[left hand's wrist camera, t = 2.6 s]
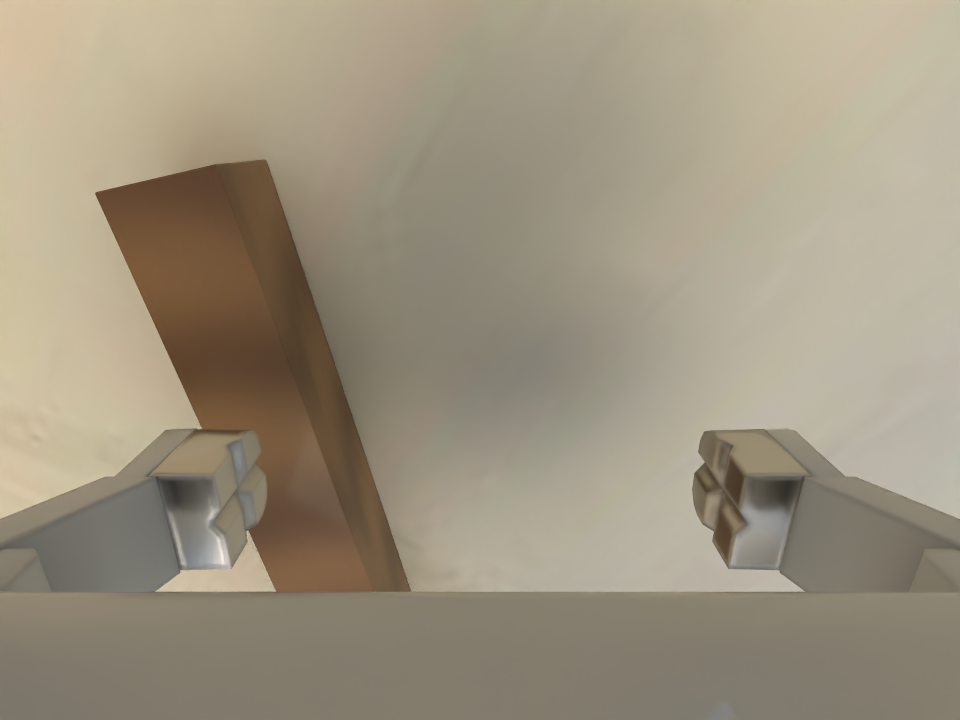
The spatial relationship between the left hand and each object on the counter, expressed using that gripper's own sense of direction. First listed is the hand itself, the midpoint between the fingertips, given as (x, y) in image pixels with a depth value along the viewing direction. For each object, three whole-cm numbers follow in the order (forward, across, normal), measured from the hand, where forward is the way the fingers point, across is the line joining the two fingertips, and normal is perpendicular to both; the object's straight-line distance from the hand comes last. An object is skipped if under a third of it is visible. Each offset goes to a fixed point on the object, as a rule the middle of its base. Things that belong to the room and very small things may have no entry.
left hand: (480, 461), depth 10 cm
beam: (+22, -8, -23) cm, 32 cm away
